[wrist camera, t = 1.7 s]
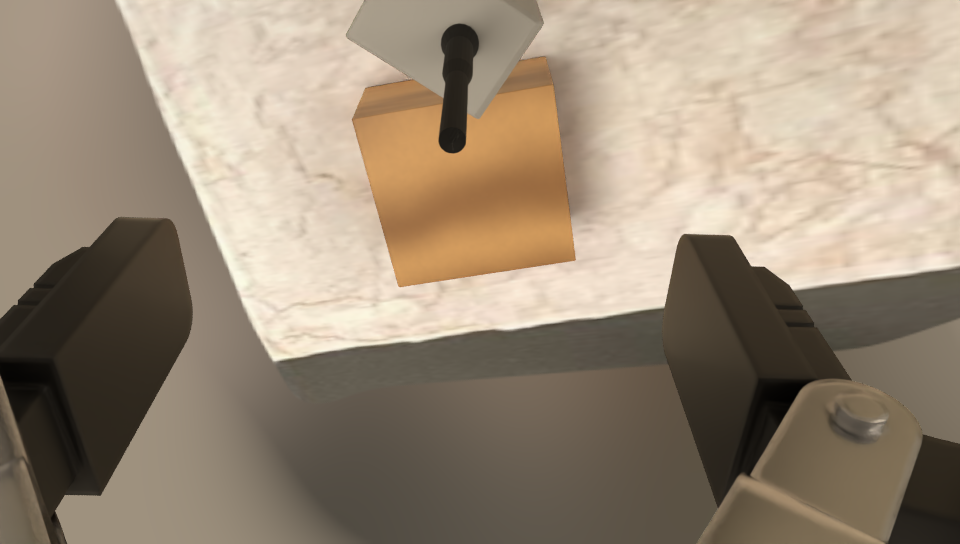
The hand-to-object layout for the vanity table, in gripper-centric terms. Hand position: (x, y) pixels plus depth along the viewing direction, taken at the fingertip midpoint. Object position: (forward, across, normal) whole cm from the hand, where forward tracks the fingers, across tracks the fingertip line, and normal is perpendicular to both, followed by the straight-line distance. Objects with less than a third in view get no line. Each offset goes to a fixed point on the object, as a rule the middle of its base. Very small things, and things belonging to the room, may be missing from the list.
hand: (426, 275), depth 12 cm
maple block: (+30, -1, +10) cm, 31 cm away
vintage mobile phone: (+30, 0, 0) cm, 30 cm away
